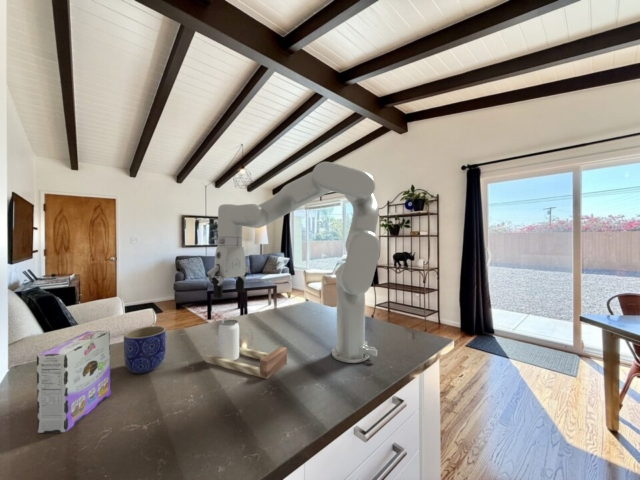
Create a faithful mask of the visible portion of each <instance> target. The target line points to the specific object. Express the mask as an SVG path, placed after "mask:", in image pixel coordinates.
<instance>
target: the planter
mask: <svg viewBox="0 0 640 480" xmlns="http://www.w3.org/2000/svg"><path fill="white" fill-rule="evenodd" d="M166 349H167V329H166V327H164V326H161V325H149V326H142V327H138V328H135V329H134V328H133V329H131V330H129V331H127V332H126V333H124V335H123V361H124V365H125V367H126V369H127V370H128V371H129V372H131V373H133V374H144V373H145V374H146V373H149V372H152V371H154V370H156V369H158V368H159V367H161V365H162V364H163V363H164V360H165V358H166V351H167V350H166Z"/></svg>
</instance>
